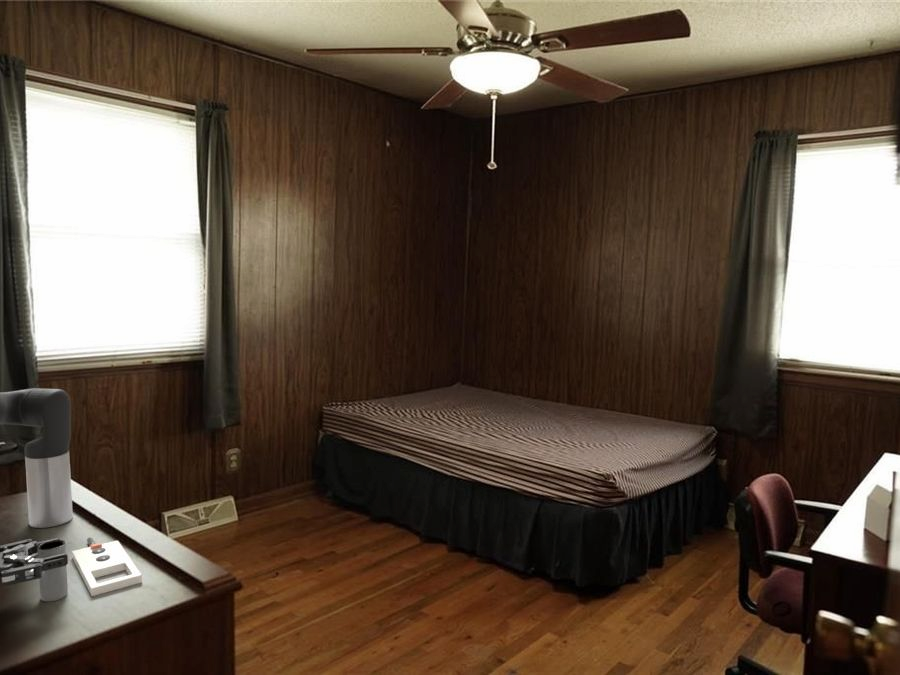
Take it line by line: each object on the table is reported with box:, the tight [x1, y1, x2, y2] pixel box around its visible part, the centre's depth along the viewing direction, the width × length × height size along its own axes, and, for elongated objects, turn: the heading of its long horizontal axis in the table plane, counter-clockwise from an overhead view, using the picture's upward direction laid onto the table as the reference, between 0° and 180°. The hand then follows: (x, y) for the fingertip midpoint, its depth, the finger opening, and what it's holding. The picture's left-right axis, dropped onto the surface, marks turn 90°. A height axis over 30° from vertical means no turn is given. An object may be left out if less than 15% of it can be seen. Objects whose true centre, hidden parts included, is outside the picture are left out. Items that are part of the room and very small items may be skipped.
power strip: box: [71, 537, 143, 597], centre depth 138 cm, size 27×9×2 cm, turn 39°
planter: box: [37, 539, 69, 602], centre depth 124 cm, size 4×4×10 cm
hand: (63, 550), depth 125 cm, fingers open, 8 cm apart
